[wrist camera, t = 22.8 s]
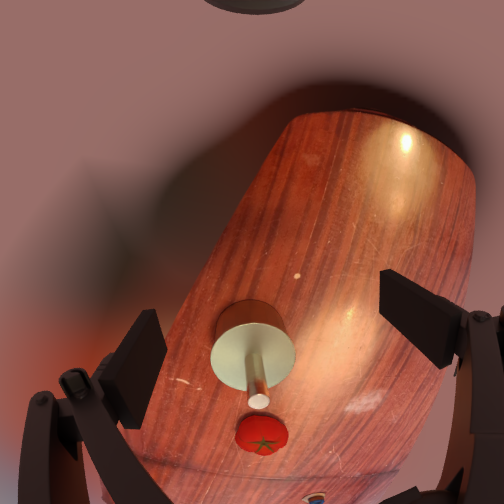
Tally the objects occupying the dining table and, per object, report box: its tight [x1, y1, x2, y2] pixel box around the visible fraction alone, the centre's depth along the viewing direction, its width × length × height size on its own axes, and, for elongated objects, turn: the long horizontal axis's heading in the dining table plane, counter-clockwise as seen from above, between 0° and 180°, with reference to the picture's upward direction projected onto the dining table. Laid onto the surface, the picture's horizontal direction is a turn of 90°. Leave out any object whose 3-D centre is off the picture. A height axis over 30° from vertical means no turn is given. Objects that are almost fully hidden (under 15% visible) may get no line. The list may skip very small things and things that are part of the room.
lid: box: [210, 321, 296, 409], centre depth 34 cm, size 12×12×10 cm
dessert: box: [302, 493, 325, 504], centre depth 63 cm, size 8×7×6 cm
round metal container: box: [215, 300, 288, 341], centre depth 43 cm, size 11×11×8 cm
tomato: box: [235, 415, 288, 456], centre depth 49 cm, size 10×11×6 cm
